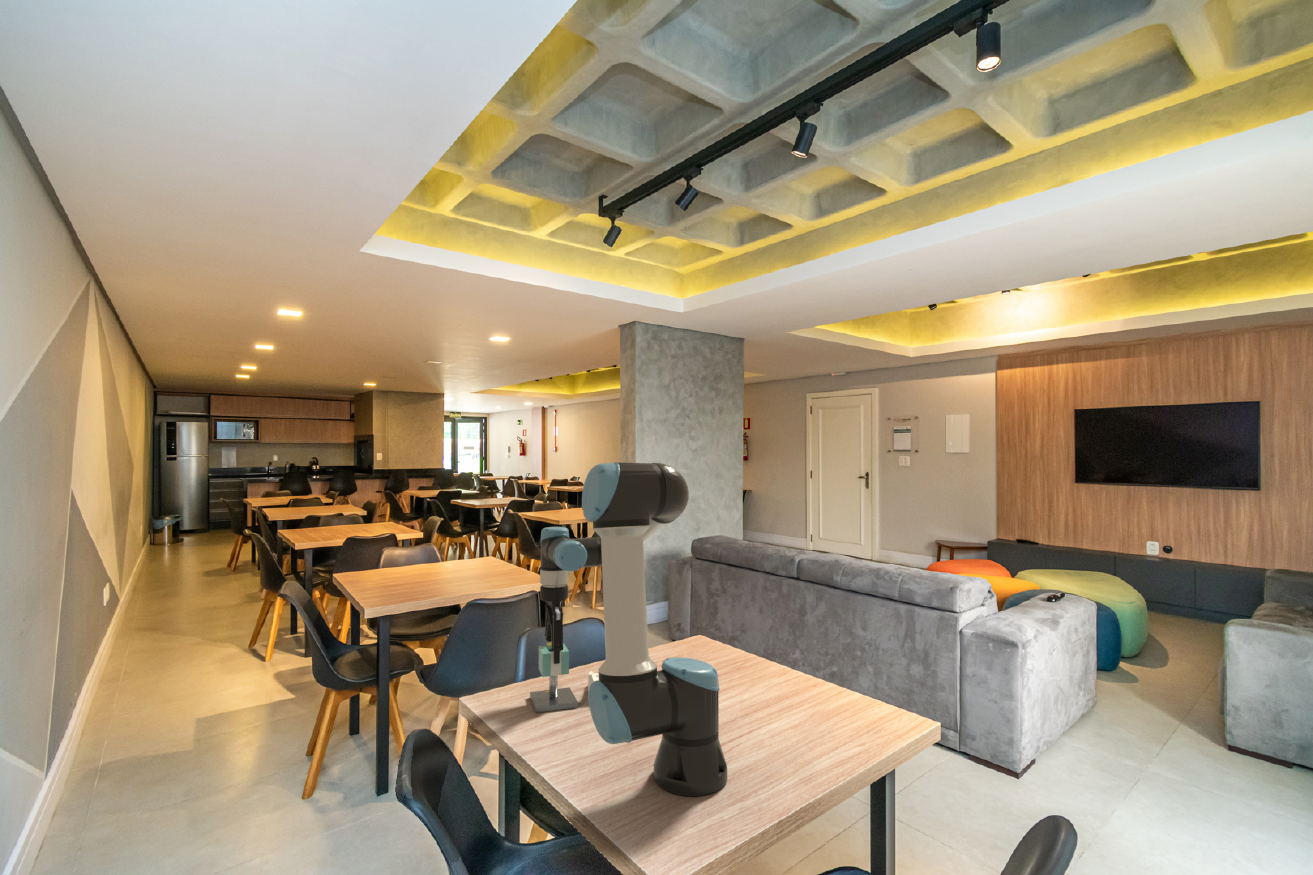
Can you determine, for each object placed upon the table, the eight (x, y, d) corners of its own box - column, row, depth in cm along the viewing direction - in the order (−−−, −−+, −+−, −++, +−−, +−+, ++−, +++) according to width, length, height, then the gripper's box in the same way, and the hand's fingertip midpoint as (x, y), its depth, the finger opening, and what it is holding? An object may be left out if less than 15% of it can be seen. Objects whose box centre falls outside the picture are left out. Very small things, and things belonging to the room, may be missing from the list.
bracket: (614, 703, 164) (614, 674, 164) (588, 702, 164) (588, 674, 164) (617, 685, 177) (617, 659, 177) (593, 685, 177) (593, 659, 177)
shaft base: (577, 707, 160) (577, 670, 160) (535, 713, 156) (535, 675, 157) (569, 692, 170) (569, 658, 171) (529, 697, 167) (530, 662, 167)
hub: (542, 677, 159) (542, 651, 160) (538, 668, 166) (538, 643, 166) (568, 673, 162) (569, 648, 162) (564, 665, 168) (564, 641, 168)
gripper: (575, 591, 156) (574, 681, 156) (561, 576, 175) (560, 657, 174) (546, 593, 154) (545, 684, 153) (535, 578, 173) (534, 659, 172)
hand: (553, 669), depth 164 cm, fingers closed on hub, 7 cm apart
